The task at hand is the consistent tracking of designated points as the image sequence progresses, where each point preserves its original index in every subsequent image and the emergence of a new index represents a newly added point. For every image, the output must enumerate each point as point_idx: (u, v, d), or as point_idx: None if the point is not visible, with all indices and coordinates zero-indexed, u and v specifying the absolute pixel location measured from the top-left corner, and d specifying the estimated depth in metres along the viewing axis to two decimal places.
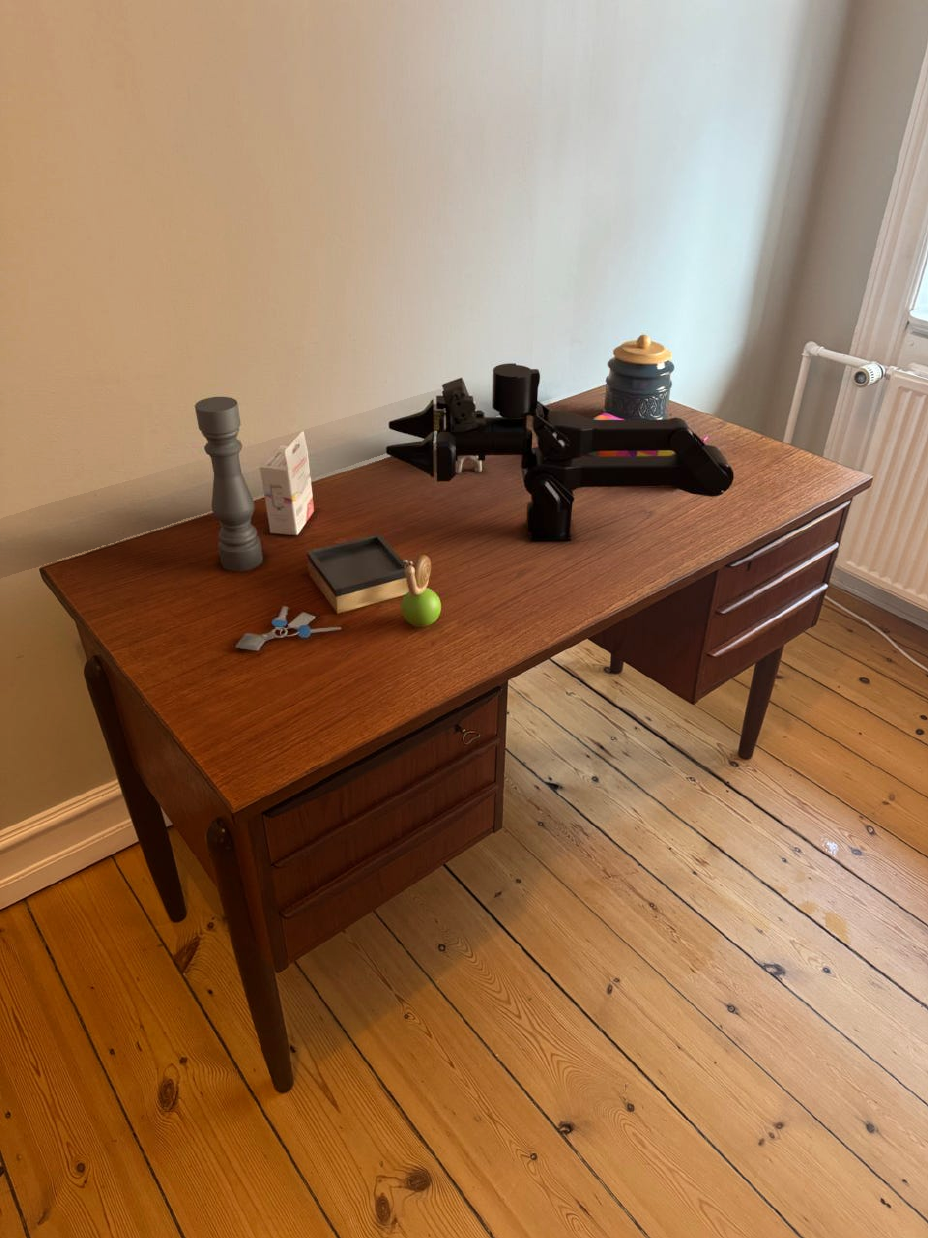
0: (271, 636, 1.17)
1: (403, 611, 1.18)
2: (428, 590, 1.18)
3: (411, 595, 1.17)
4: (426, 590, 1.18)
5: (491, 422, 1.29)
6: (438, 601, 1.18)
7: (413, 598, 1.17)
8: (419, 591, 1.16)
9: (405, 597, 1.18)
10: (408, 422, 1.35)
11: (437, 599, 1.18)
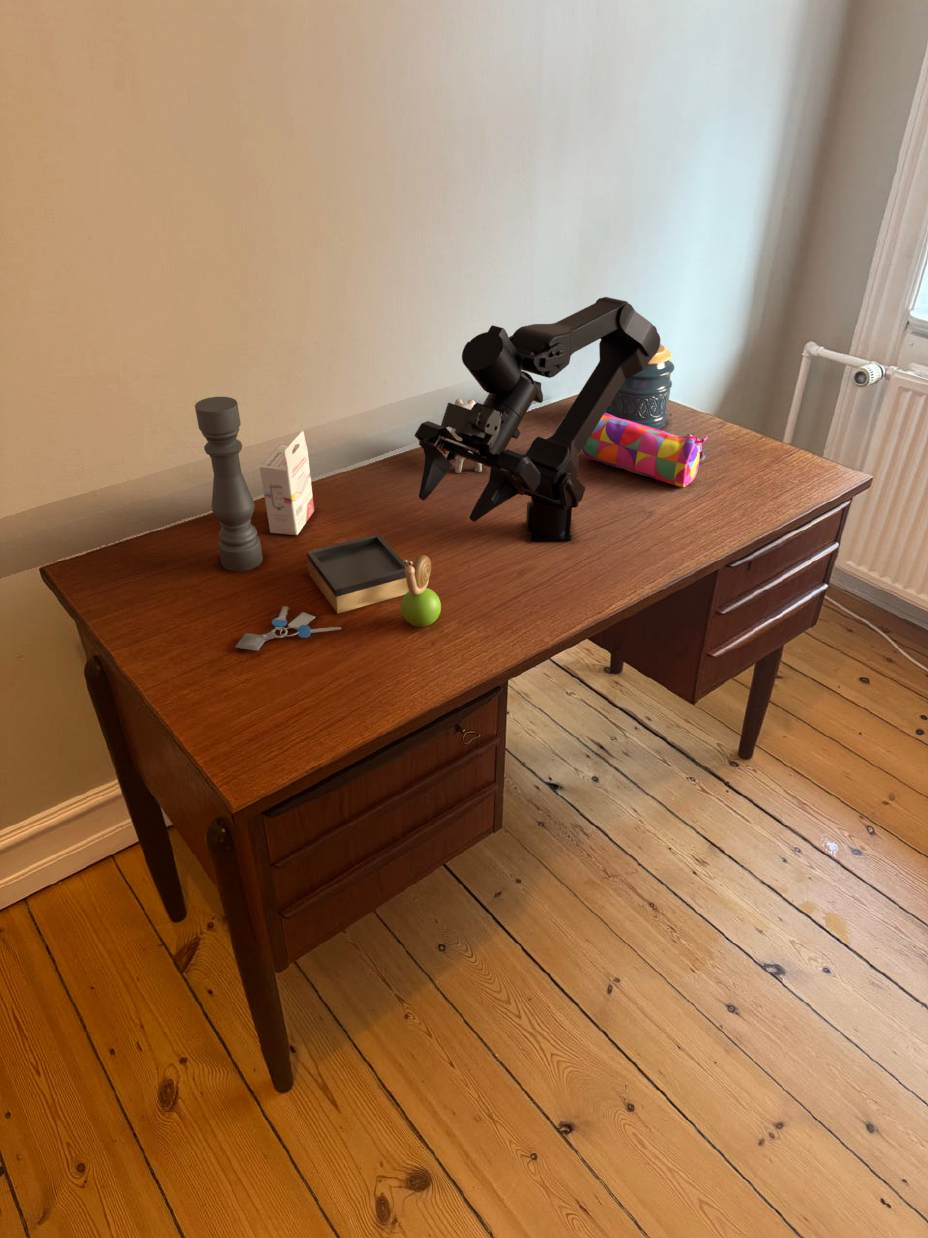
0: (271, 636, 1.17)
1: (403, 611, 1.18)
2: (428, 590, 1.18)
3: (411, 595, 1.17)
4: (426, 590, 1.18)
5: (500, 403, 1.17)
6: (438, 601, 1.18)
7: (413, 598, 1.17)
8: (419, 591, 1.16)
9: (405, 597, 1.18)
10: (430, 479, 1.21)
11: (437, 599, 1.18)
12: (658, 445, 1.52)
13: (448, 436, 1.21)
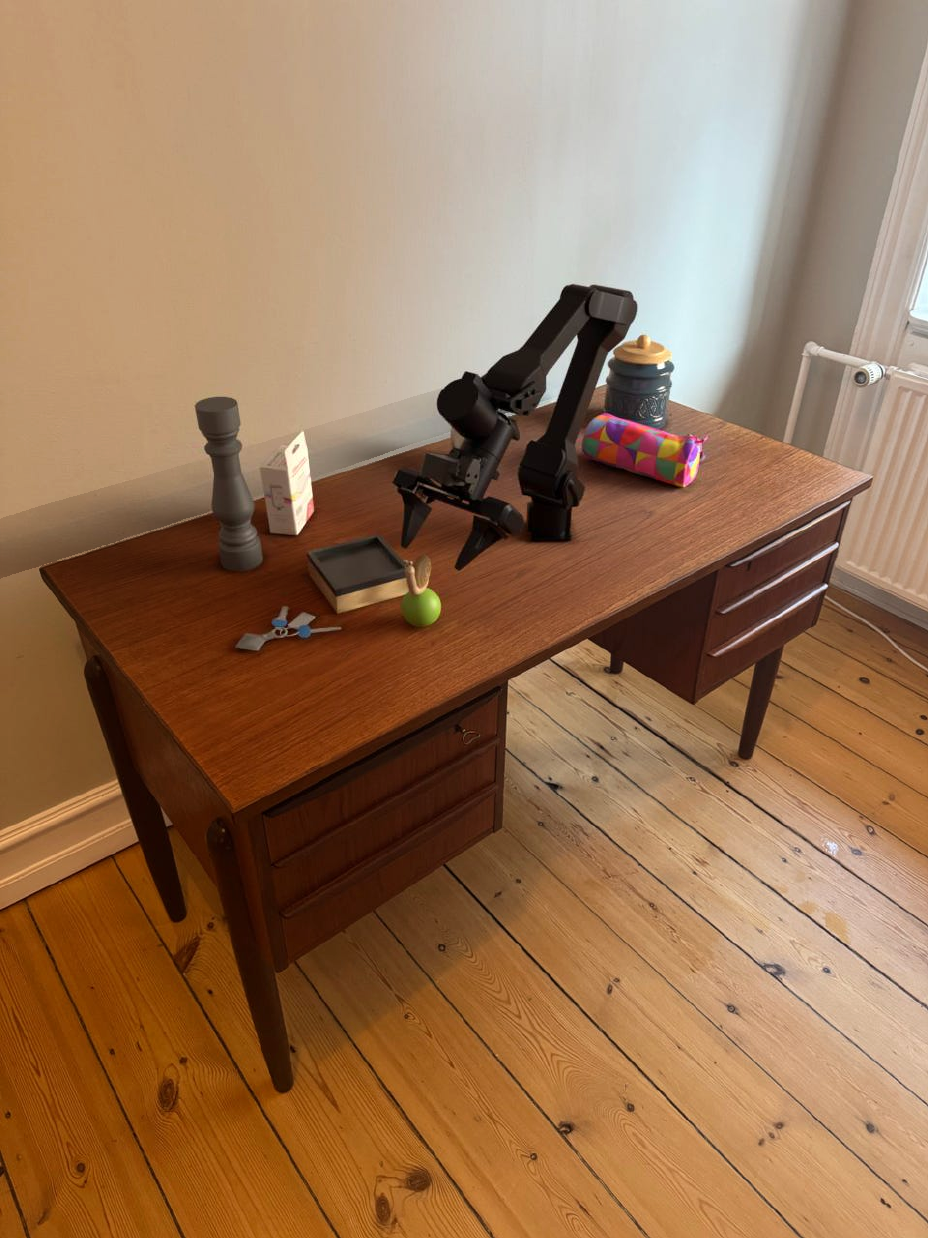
0: (271, 636, 1.17)
1: (403, 611, 1.18)
2: (428, 590, 1.18)
3: (411, 595, 1.17)
4: (426, 590, 1.18)
5: (478, 448, 1.14)
6: (438, 601, 1.18)
7: (413, 598, 1.17)
8: (419, 591, 1.16)
9: (405, 597, 1.18)
10: (411, 526, 1.19)
11: (437, 599, 1.18)
12: (658, 445, 1.52)
13: (426, 481, 1.19)
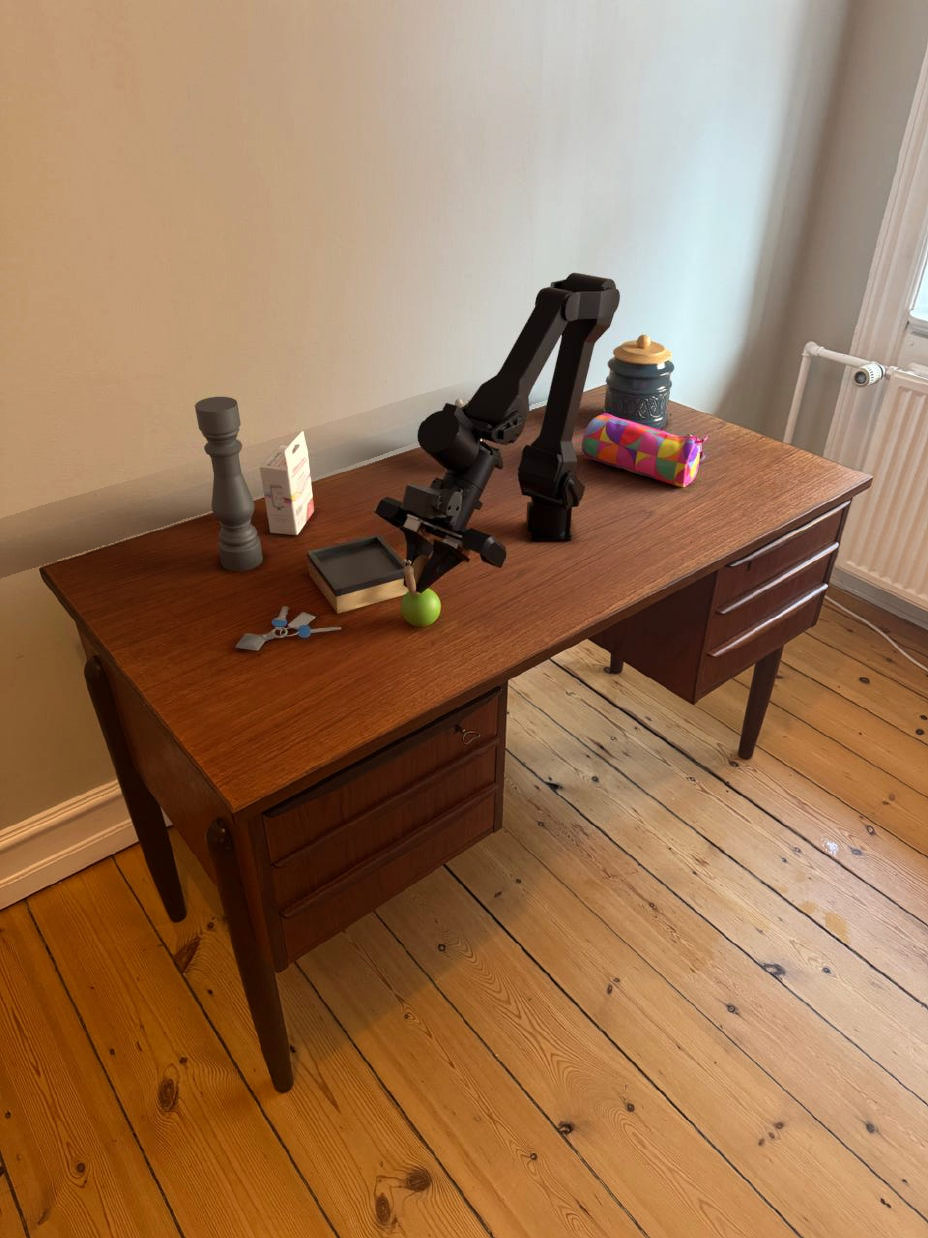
0: (271, 636, 1.17)
1: (403, 611, 1.18)
2: (428, 590, 1.18)
3: (411, 595, 1.17)
4: (426, 590, 1.18)
5: (460, 478, 1.14)
6: (438, 601, 1.18)
7: (412, 598, 1.17)
8: None
9: (405, 597, 1.18)
10: None
11: (437, 599, 1.18)
12: (658, 445, 1.52)
13: (409, 511, 1.18)
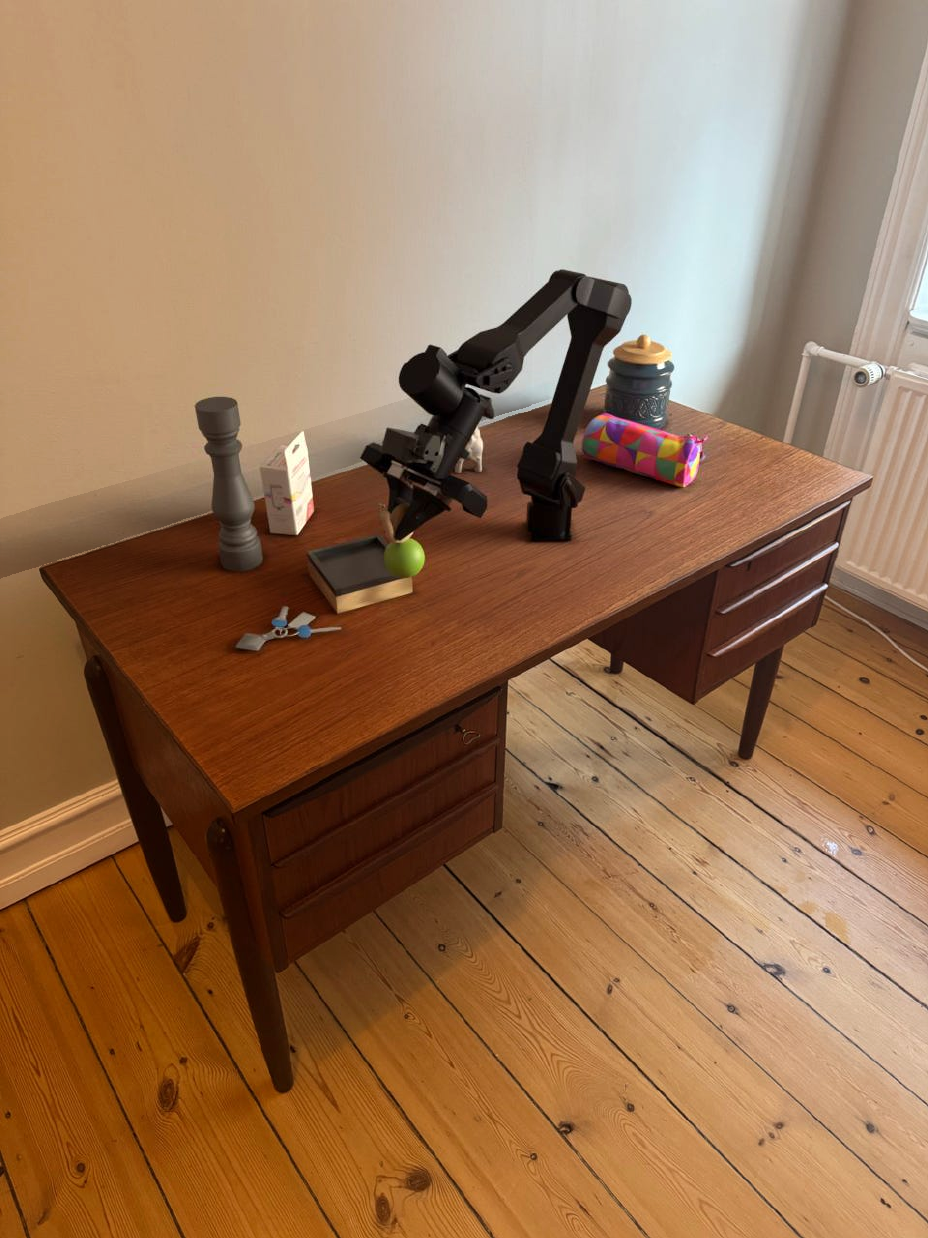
0: (271, 636, 1.17)
1: (384, 560, 1.16)
2: (411, 540, 1.16)
3: (392, 544, 1.15)
4: (408, 540, 1.15)
5: (444, 424, 1.11)
6: (420, 552, 1.15)
7: (393, 547, 1.15)
8: None
9: (388, 546, 1.16)
10: None
11: (419, 550, 1.15)
12: (658, 445, 1.52)
13: (395, 458, 1.16)
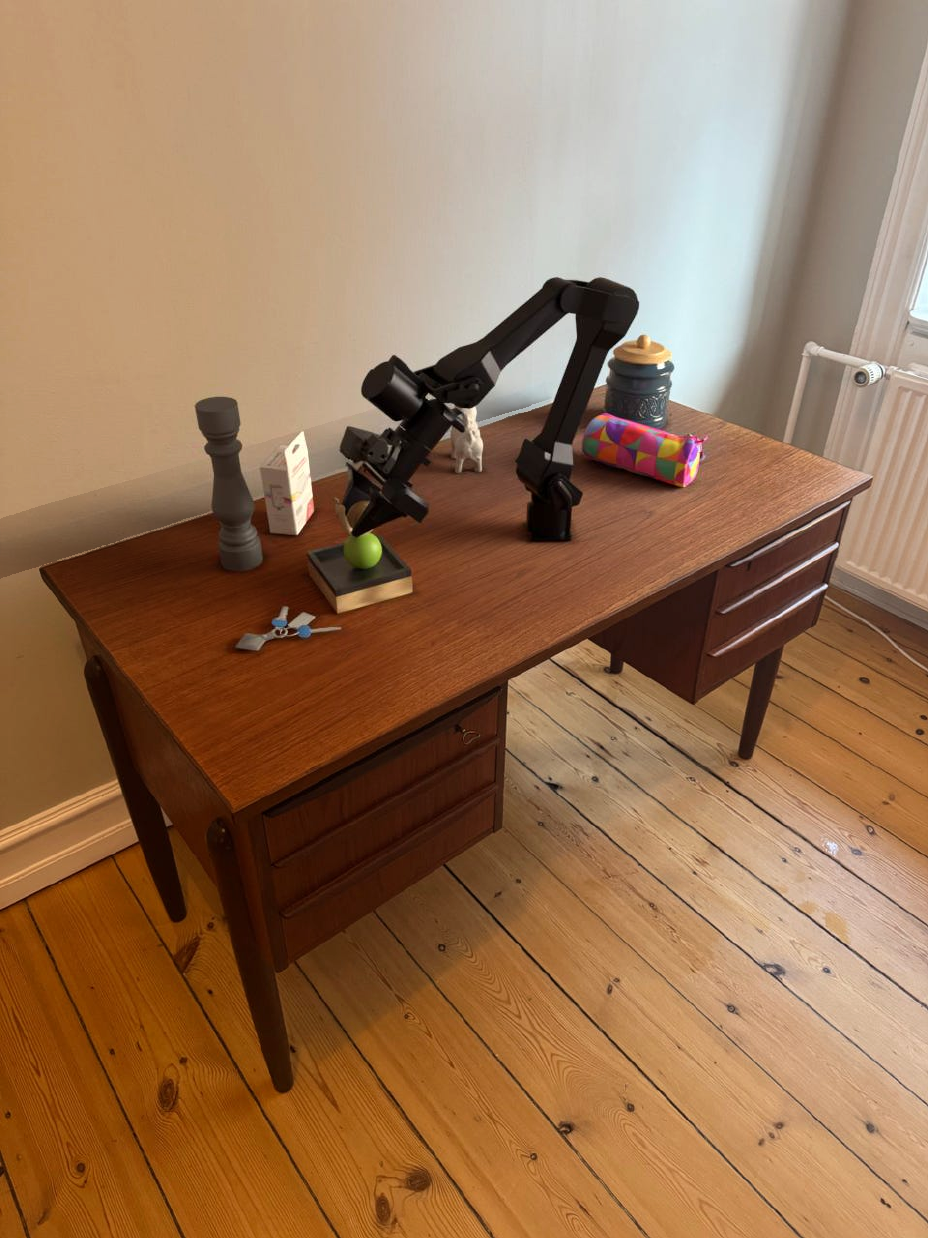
0: (271, 636, 1.17)
1: None
2: (369, 536, 1.24)
3: (352, 535, 1.24)
4: (366, 535, 1.24)
5: (405, 431, 1.18)
6: (374, 548, 1.24)
7: (350, 538, 1.24)
8: None
9: (349, 536, 1.25)
10: (350, 501, 1.24)
11: (373, 546, 1.24)
12: (658, 445, 1.52)
13: None
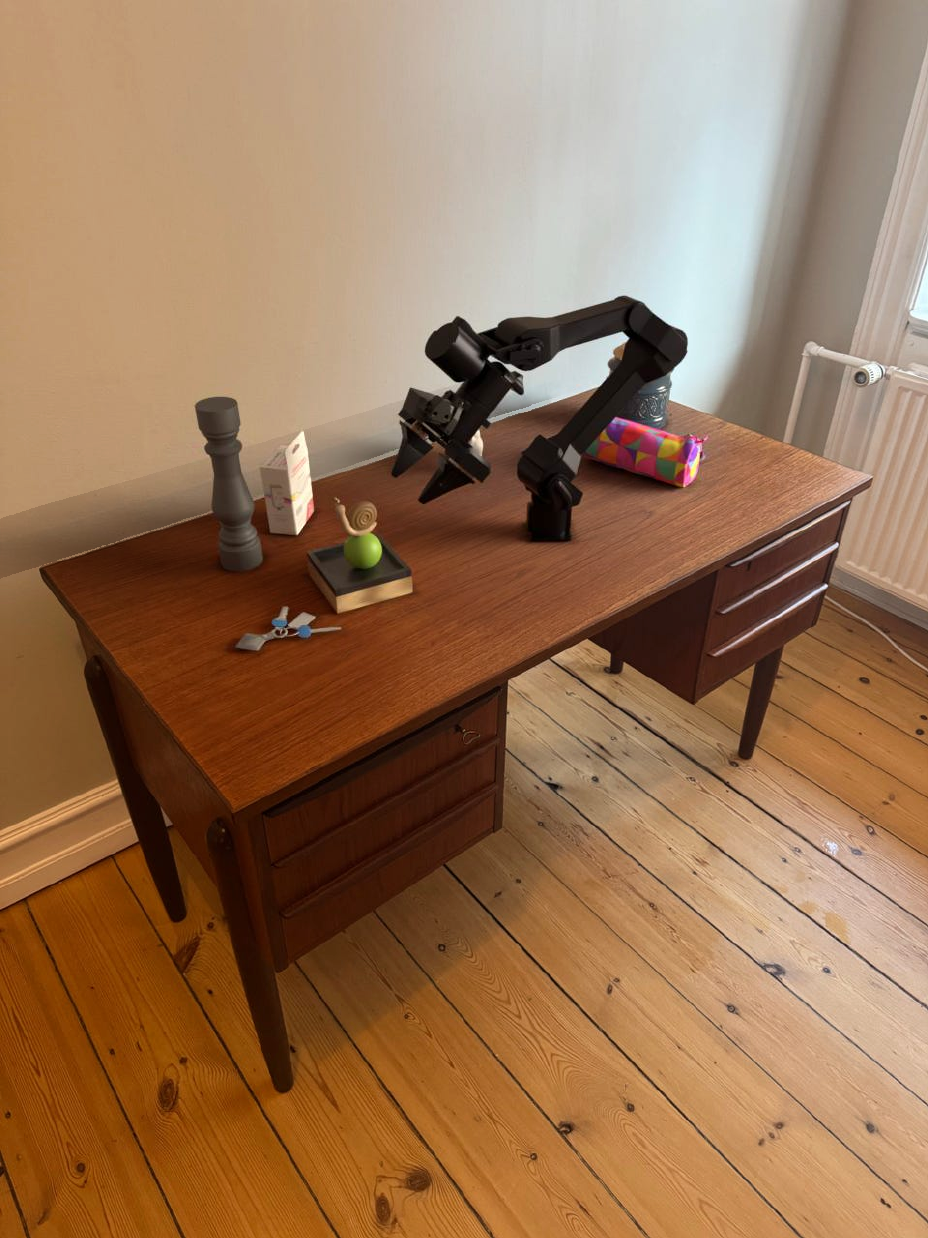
0: (271, 636, 1.17)
1: None
2: (368, 536, 1.24)
3: (352, 535, 1.24)
4: (366, 535, 1.24)
5: (466, 392, 1.20)
6: (374, 548, 1.24)
7: (350, 538, 1.24)
8: (353, 532, 1.22)
9: (349, 536, 1.25)
10: (403, 458, 1.27)
11: (373, 546, 1.24)
12: (658, 445, 1.52)
13: None
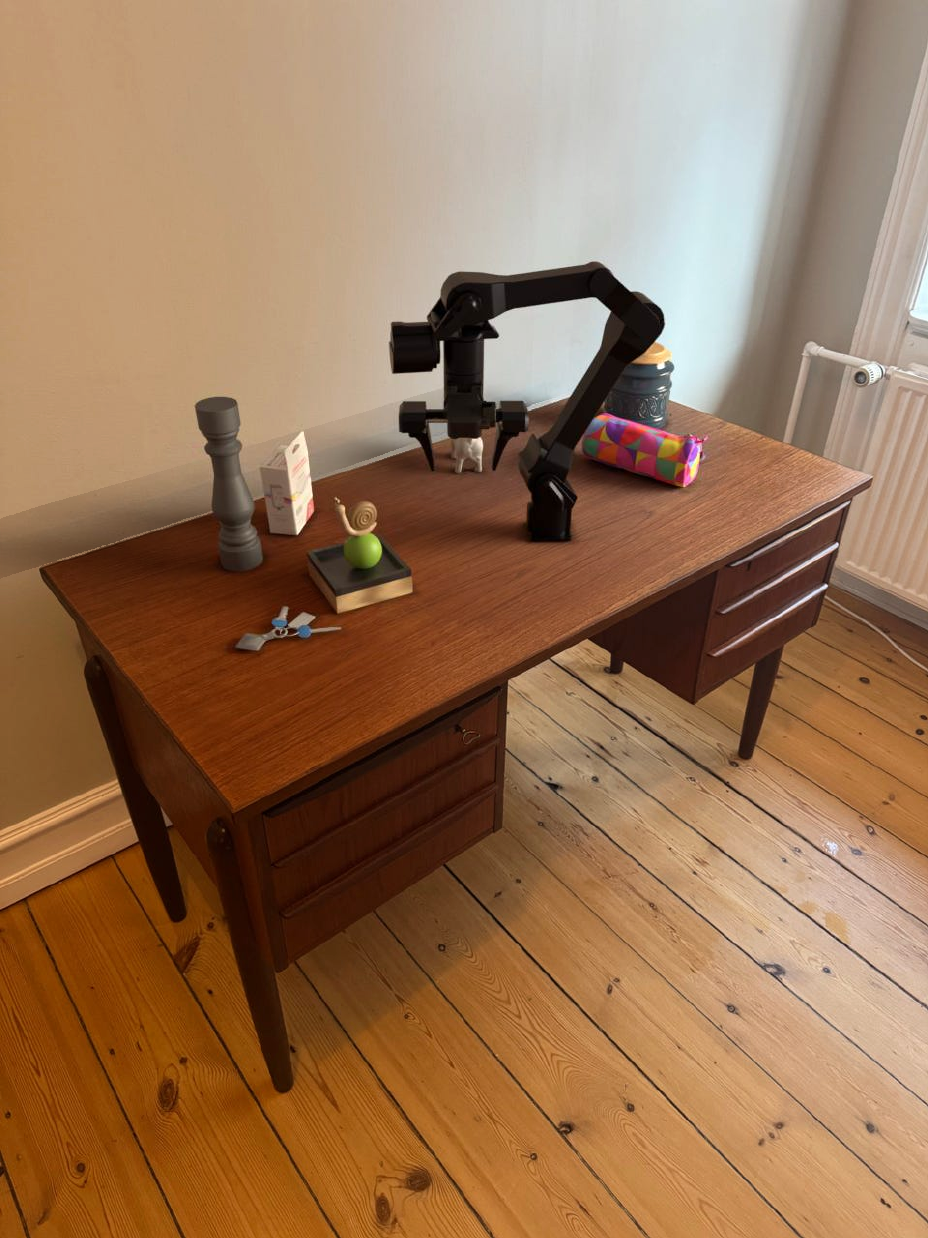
0: (271, 636, 1.17)
1: None
2: (368, 536, 1.24)
3: (352, 535, 1.24)
4: (366, 535, 1.24)
5: (471, 375, 1.22)
6: (374, 548, 1.24)
7: (350, 538, 1.24)
8: (353, 532, 1.22)
9: (349, 536, 1.25)
10: (431, 452, 1.31)
11: (373, 546, 1.24)
12: (658, 445, 1.52)
13: (426, 412, 1.27)
